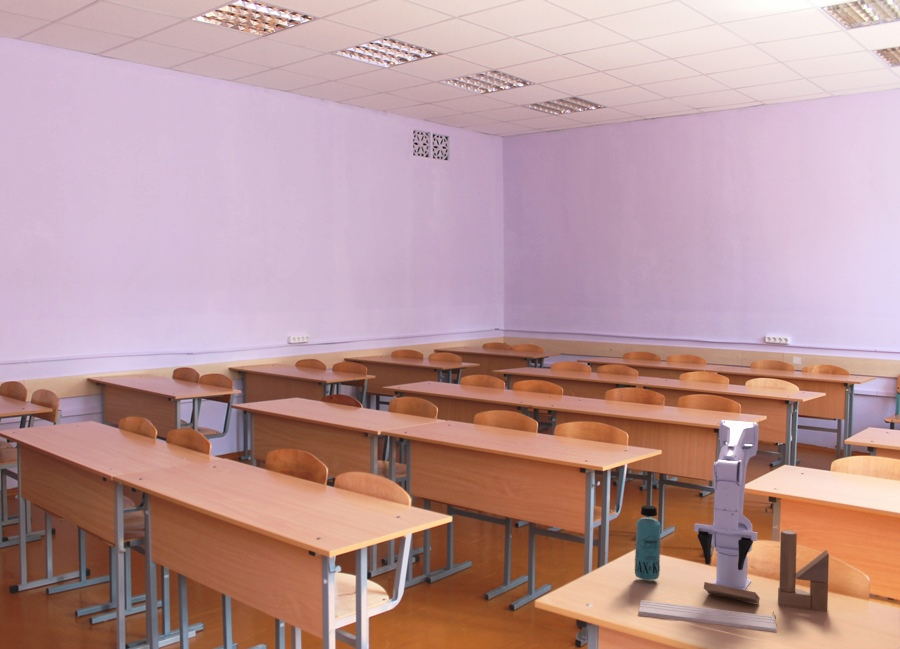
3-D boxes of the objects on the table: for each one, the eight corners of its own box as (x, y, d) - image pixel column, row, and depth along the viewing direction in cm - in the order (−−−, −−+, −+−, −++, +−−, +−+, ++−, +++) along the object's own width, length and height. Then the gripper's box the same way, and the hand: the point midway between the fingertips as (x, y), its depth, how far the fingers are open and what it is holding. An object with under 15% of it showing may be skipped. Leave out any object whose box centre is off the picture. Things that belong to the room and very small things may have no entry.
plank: (708, 593, 197) (709, 587, 197) (758, 604, 190) (759, 597, 191) (703, 588, 192) (704, 582, 193) (754, 598, 186) (755, 592, 186)
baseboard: (641, 601, 193) (638, 617, 183) (641, 590, 193) (638, 605, 183) (772, 618, 184) (776, 635, 174) (773, 606, 184) (777, 623, 174)
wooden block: (827, 612, 186) (829, 538, 186) (778, 606, 190) (780, 533, 189) (825, 607, 190) (827, 533, 189) (777, 601, 193) (779, 529, 193)
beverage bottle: (629, 578, 208) (631, 504, 207) (651, 576, 210) (652, 502, 209) (642, 587, 202) (644, 510, 201) (665, 584, 203) (666, 508, 203)
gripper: (691, 506, 191) (689, 563, 190) (753, 515, 183) (751, 574, 182) (699, 505, 197) (697, 559, 195) (760, 513, 189) (758, 570, 188)
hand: (723, 566), depth 189 cm, fingers open, 7 cm apart
